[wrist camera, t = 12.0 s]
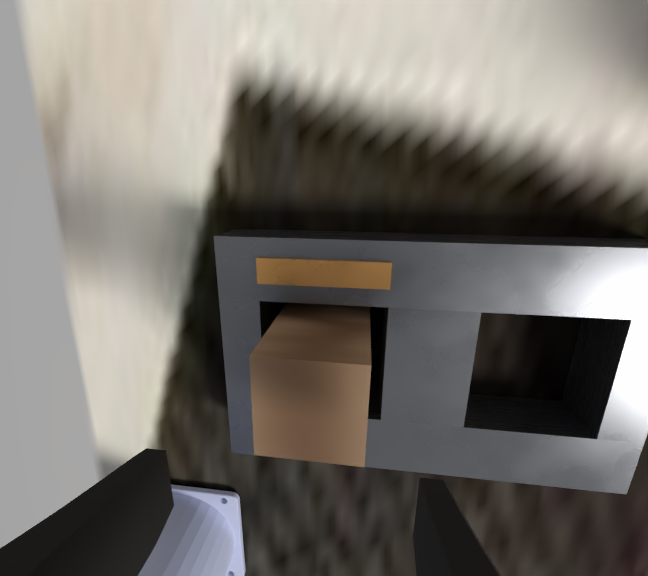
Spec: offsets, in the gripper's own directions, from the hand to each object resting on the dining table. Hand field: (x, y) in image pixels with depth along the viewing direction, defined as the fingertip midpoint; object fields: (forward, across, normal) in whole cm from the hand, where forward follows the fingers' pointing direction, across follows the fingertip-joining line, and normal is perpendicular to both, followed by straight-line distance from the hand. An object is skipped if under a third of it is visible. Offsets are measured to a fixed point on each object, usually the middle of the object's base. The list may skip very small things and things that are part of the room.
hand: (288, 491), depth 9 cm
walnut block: (+10, 0, 0) cm, 10 cm away
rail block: (+10, -5, 0) cm, 11 cm away
